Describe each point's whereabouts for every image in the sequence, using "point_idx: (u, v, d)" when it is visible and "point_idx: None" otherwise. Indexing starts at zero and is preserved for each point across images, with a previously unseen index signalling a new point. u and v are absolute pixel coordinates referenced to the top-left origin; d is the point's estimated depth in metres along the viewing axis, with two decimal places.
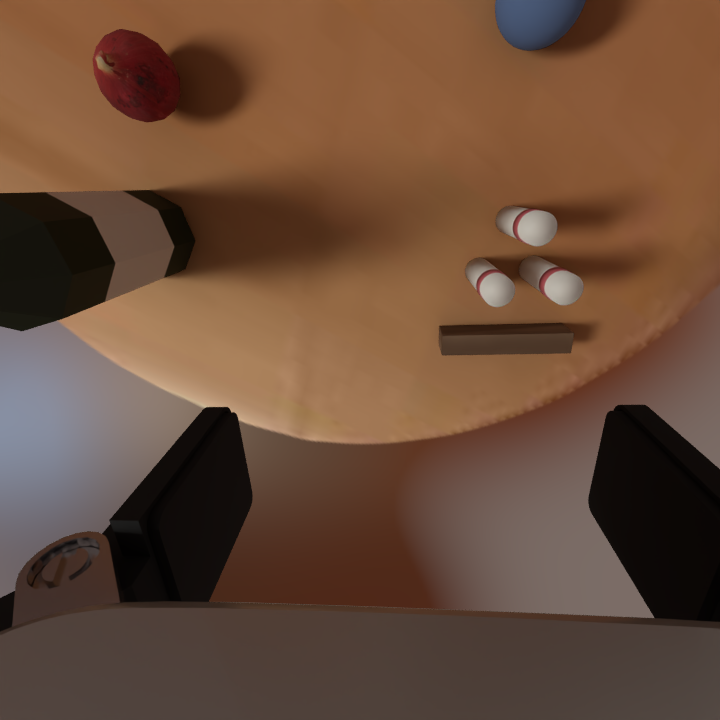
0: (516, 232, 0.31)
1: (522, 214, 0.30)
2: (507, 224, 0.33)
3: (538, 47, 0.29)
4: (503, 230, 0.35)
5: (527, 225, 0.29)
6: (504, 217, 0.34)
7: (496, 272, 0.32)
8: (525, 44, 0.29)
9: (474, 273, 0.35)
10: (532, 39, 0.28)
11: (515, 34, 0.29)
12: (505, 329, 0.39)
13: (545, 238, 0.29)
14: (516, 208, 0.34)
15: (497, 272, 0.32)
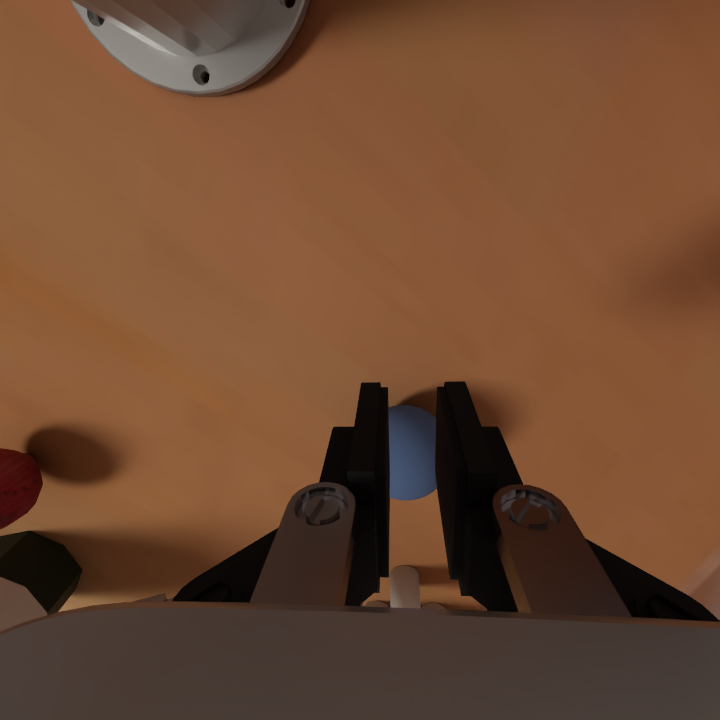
0: None
1: None
2: None
3: None
4: None
5: None
6: (391, 601, 0.32)
7: None
8: None
9: None
10: None
11: None
12: None
13: None
14: (401, 602, 0.32)
15: None
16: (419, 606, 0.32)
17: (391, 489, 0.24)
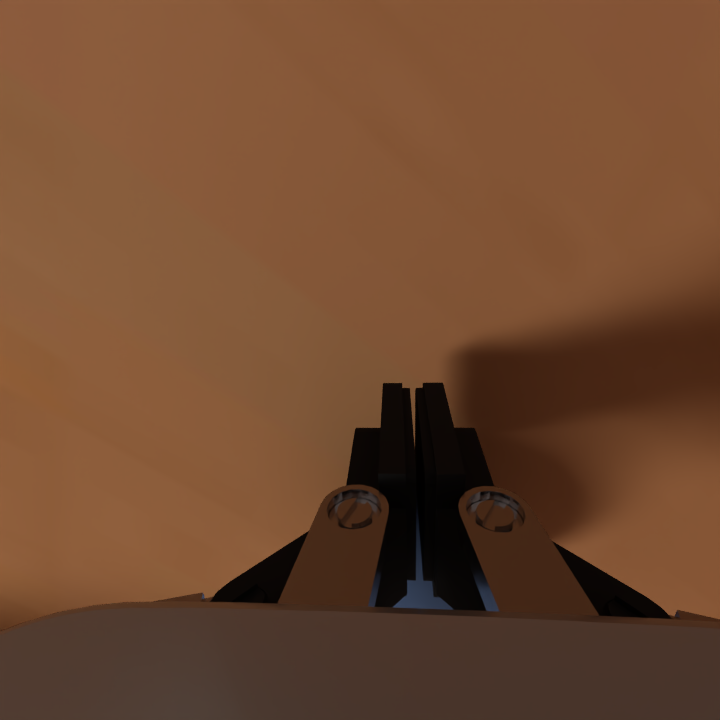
0: None
1: None
2: None
3: None
4: None
5: None
6: None
7: None
8: None
9: None
10: None
11: None
12: None
13: None
14: None
15: None
16: None
17: None
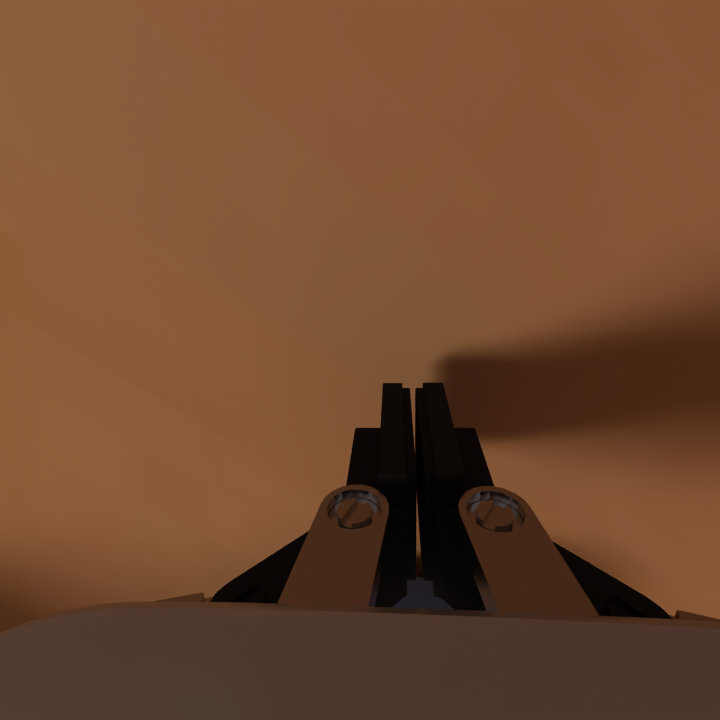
0: None
1: None
2: None
3: None
4: None
5: None
6: None
7: None
8: None
9: None
10: None
11: None
12: None
13: None
14: None
15: None
16: None
17: None
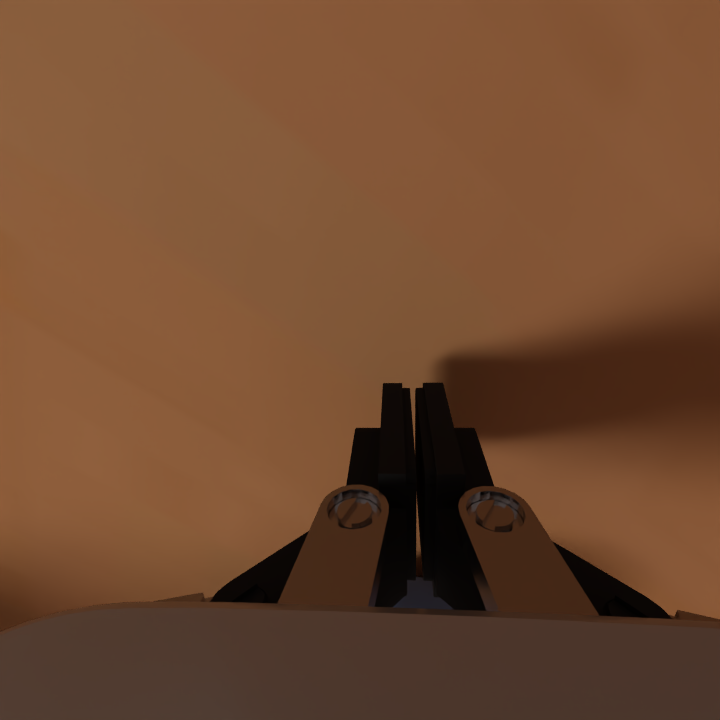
0: None
1: None
2: None
3: None
4: None
5: None
6: None
7: None
8: None
9: None
10: None
11: None
12: None
13: None
14: None
15: None
16: None
17: None
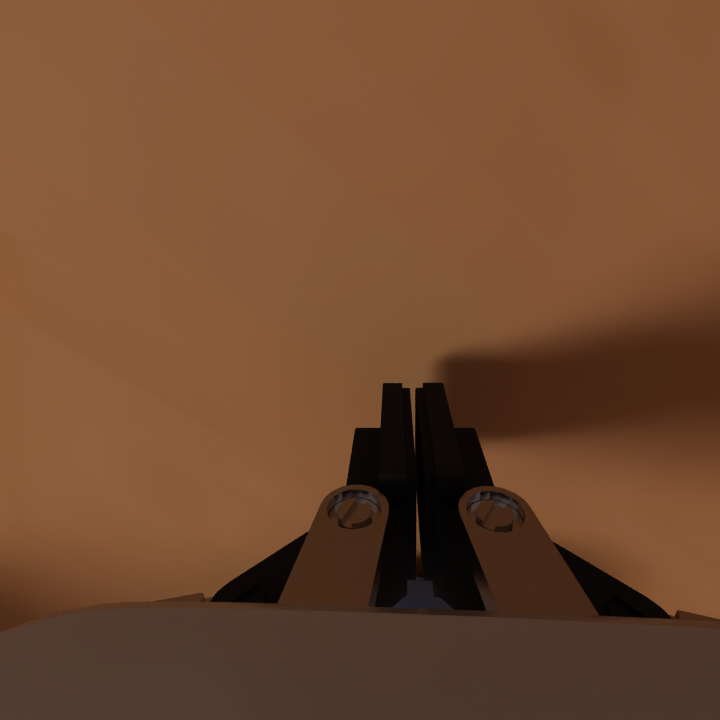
0: None
1: None
2: None
3: None
4: None
5: None
6: None
7: None
8: None
9: None
10: None
11: None
12: None
13: None
14: None
15: None
16: None
17: None
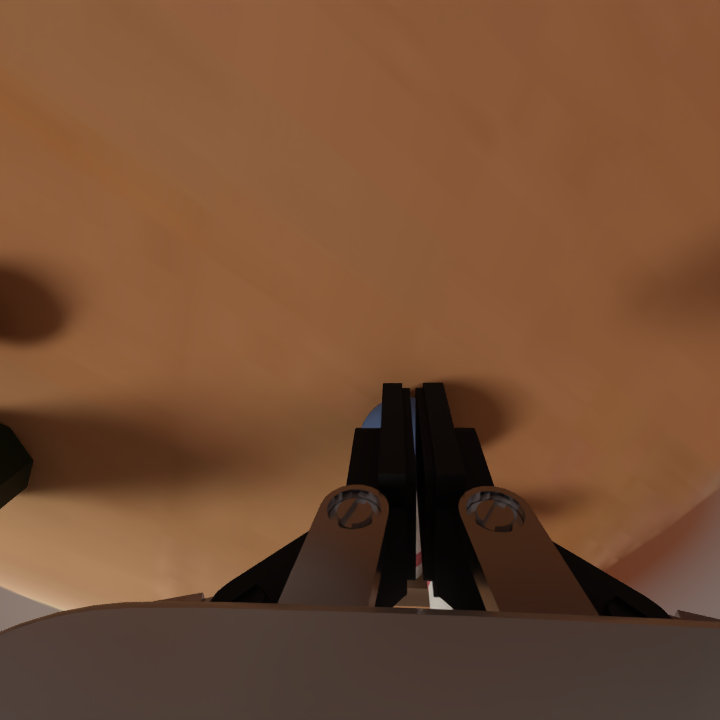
0: None
1: None
2: None
3: None
4: None
5: None
6: None
7: None
8: None
9: None
10: None
11: (377, 414, 0.25)
12: None
13: None
14: None
15: None
16: None
17: None
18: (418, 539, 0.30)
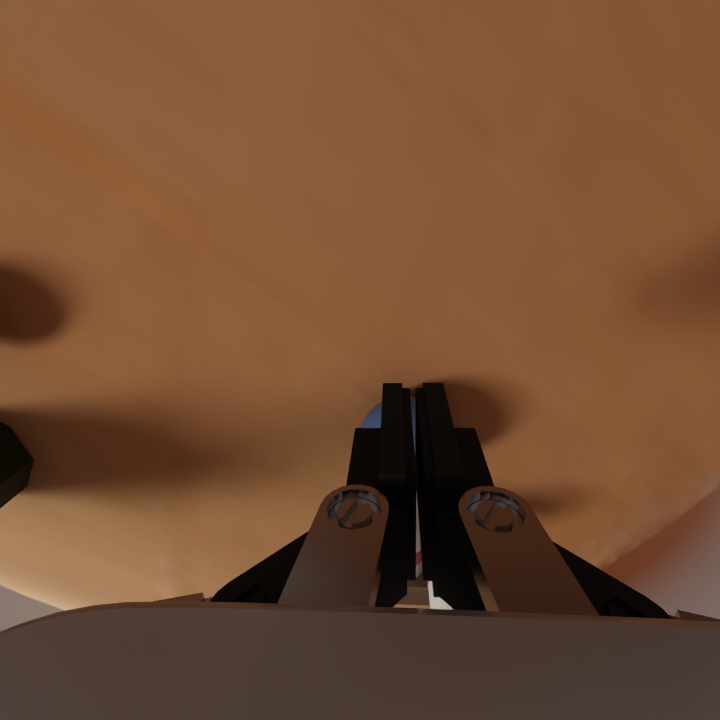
0: None
1: None
2: None
3: None
4: None
5: None
6: None
7: None
8: None
9: None
10: None
11: (376, 413, 0.25)
12: None
13: None
14: None
15: None
16: None
17: None
18: (418, 537, 0.30)
